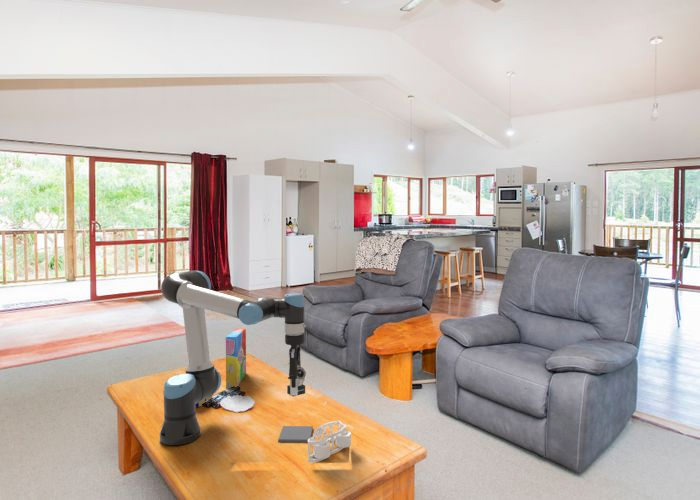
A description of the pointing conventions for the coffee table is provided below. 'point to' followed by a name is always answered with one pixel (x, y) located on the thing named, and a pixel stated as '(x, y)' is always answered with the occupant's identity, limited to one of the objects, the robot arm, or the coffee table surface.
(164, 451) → the coffee table surface
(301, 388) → the watch
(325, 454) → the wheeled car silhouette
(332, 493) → the coffee table surface
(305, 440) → the mat
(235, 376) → the game box
